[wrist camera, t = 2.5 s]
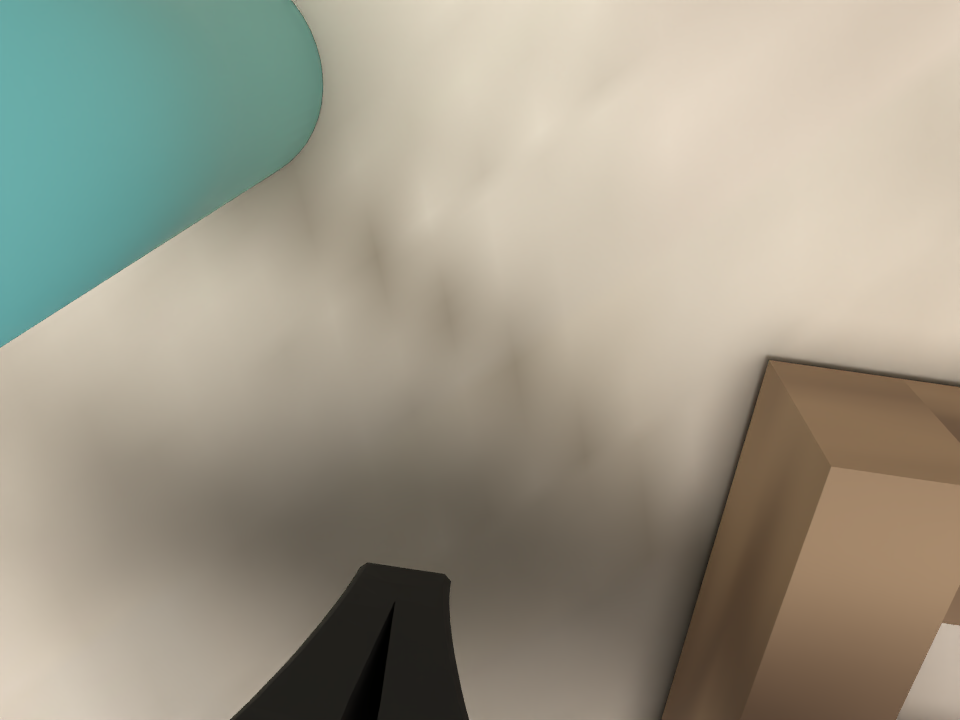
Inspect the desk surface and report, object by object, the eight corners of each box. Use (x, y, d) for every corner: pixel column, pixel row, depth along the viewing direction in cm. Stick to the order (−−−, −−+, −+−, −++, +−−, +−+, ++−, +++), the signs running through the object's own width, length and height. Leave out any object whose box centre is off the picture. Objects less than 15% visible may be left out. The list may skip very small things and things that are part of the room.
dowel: (318, 194, 12) (-55, 513, 5) (121, 167, 12) (-556, 437, 5) (326, -29, 11) (-176, -78, 3) (104, -58, 11) (-858, -168, 3)
